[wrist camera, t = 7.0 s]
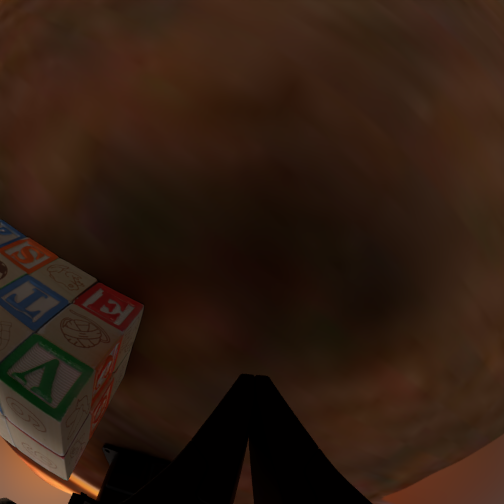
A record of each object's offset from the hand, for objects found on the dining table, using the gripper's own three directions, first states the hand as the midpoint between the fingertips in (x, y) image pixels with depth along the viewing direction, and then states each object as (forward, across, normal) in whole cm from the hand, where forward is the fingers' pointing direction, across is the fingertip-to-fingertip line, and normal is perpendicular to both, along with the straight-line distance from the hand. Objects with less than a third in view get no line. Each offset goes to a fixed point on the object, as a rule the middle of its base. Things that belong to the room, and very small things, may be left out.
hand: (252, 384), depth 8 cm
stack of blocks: (+7, +17, +1) cm, 18 cm away
